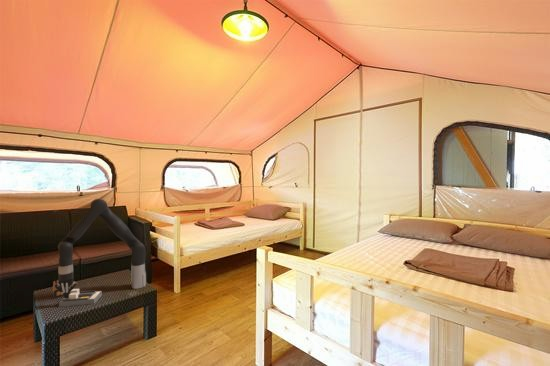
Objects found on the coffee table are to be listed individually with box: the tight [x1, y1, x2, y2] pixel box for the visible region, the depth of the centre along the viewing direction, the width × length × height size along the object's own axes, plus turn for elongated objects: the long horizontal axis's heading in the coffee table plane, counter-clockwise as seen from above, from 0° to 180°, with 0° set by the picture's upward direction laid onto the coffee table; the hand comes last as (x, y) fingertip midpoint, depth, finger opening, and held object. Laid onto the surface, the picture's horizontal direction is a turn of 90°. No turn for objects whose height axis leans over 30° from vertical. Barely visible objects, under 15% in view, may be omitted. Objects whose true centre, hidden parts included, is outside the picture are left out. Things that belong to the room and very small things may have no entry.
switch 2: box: [69, 292, 78, 299], centre depth 170 cm, size 4×3×3 cm
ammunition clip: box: [52, 279, 73, 299], centre depth 180 cm, size 11×2×12 cm, turn 138°
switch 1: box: [70, 288, 80, 294], centre depth 175 cm, size 4×3×3 cm
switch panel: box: [58, 289, 103, 308], centre depth 174 cm, size 20×12×4 cm, turn 103°
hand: (66, 297), depth 169 cm, fingers closed
